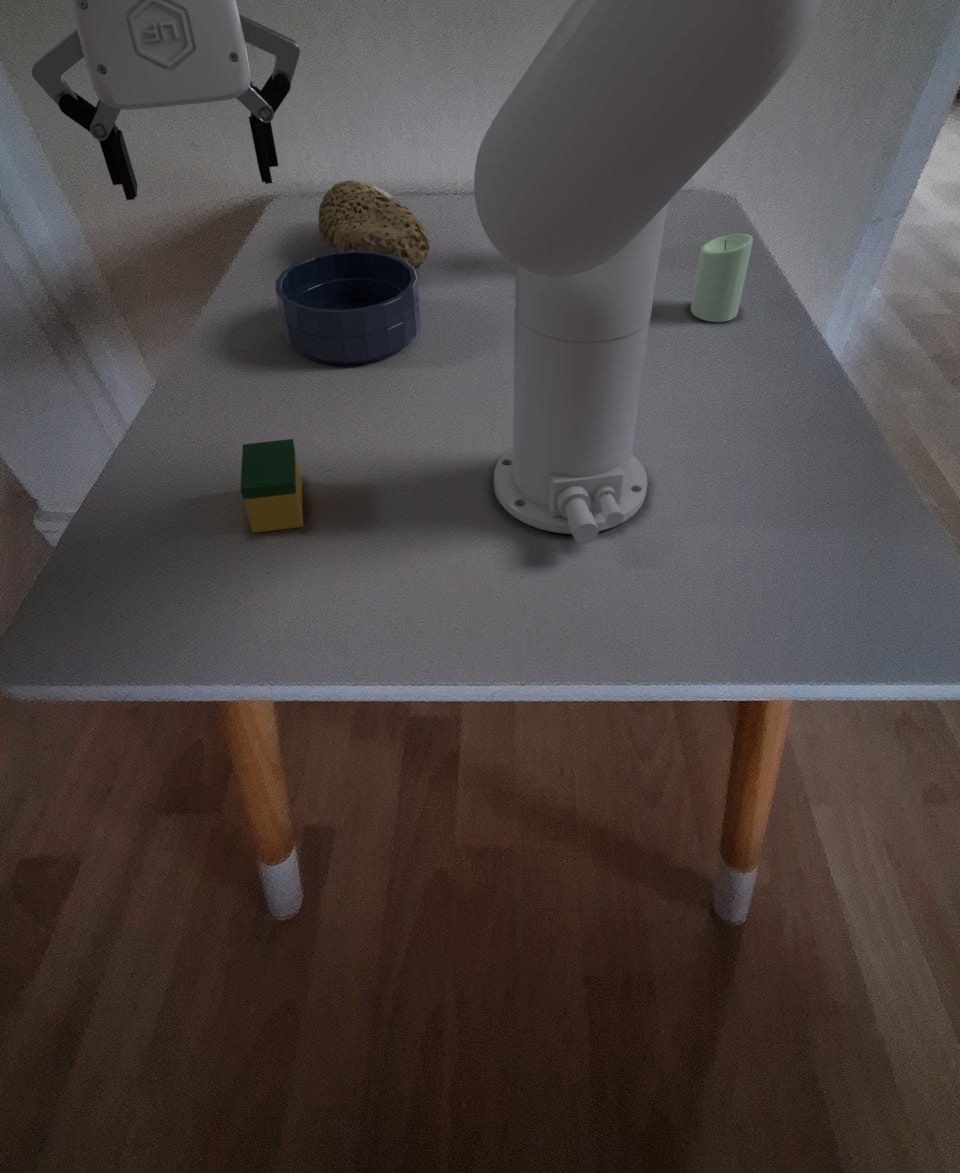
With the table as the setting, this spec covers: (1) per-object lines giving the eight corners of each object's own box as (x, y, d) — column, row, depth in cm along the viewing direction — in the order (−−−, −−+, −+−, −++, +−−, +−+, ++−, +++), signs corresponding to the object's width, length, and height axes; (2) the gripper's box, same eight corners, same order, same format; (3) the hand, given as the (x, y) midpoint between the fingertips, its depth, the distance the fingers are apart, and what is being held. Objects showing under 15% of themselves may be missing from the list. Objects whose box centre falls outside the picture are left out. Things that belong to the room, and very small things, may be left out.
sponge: (319, 238, 111) (312, 270, 94) (321, 172, 107) (315, 194, 90) (418, 250, 113) (429, 284, 96) (424, 187, 109) (437, 211, 92)
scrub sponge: (303, 527, 67) (293, 483, 64) (252, 533, 66) (240, 489, 63) (301, 482, 71) (292, 438, 68) (253, 487, 71) (242, 444, 68)
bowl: (428, 360, 85) (424, 304, 81) (286, 375, 84) (275, 318, 79) (412, 298, 95) (408, 245, 91) (285, 310, 94) (275, 256, 89)
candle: (686, 318, 91) (699, 242, 85) (694, 298, 94) (707, 224, 88) (733, 326, 89) (749, 249, 84) (740, 305, 93) (756, 230, 87)
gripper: (-40, -102, 46) (73, 219, 58) (279, -120, 49) (324, 188, 61) (-21, -114, 51) (80, 182, 63) (267, -130, 54) (310, 156, 66)
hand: (200, 185), depth 62 cm, fingers open, 9 cm apart
